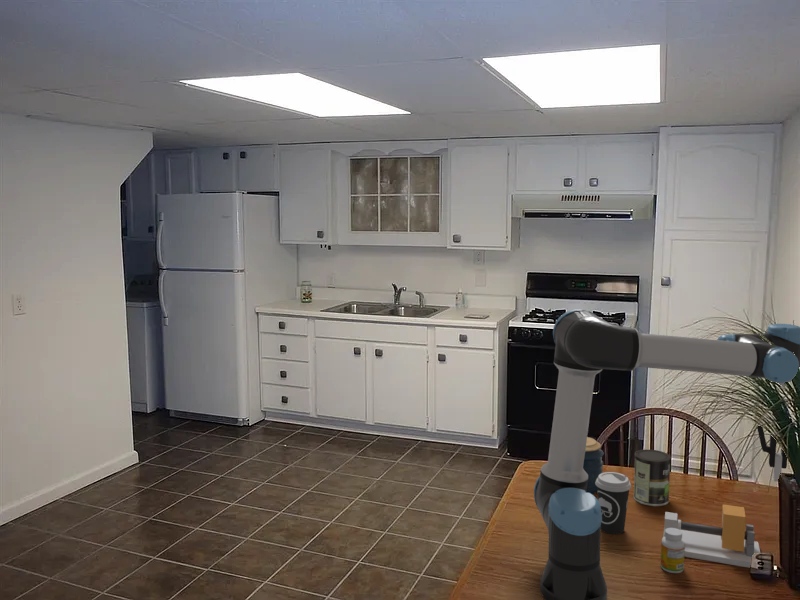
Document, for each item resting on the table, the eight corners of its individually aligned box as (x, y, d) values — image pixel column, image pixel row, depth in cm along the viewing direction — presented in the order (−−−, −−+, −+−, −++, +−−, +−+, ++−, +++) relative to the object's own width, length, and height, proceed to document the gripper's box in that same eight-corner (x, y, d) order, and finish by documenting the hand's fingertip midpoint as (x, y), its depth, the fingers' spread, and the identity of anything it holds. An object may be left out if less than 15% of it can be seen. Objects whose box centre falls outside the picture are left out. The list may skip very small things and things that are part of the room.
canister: (554, 480, 225) (555, 428, 222) (591, 477, 227) (592, 425, 225) (571, 497, 212) (572, 442, 210) (610, 493, 215) (611, 439, 212)
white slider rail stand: (762, 569, 169) (763, 540, 168) (662, 552, 178) (663, 524, 177) (757, 547, 180) (759, 519, 179) (664, 532, 189) (665, 505, 188)
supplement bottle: (660, 560, 174) (662, 524, 173) (683, 564, 172) (685, 528, 171) (660, 571, 169) (661, 534, 168) (683, 575, 167) (685, 538, 166)
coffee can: (671, 496, 212) (673, 452, 210) (665, 509, 203) (667, 463, 201) (637, 489, 217) (638, 446, 215) (629, 502, 208) (630, 457, 206)
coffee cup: (632, 538, 186) (633, 485, 184) (595, 535, 188) (596, 483, 186) (627, 522, 195) (629, 472, 193) (592, 519, 197) (594, 469, 195)
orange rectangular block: (743, 551, 173) (745, 517, 172) (721, 548, 175) (723, 514, 174) (742, 540, 179) (744, 507, 177) (720, 537, 180) (722, 504, 179)
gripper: (810, 385, 168) (804, 477, 171) (751, 381, 173) (746, 470, 177) (815, 393, 161) (809, 489, 165) (753, 389, 166) (748, 481, 170)
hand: (776, 479), depth 171 cm, fingers closed
